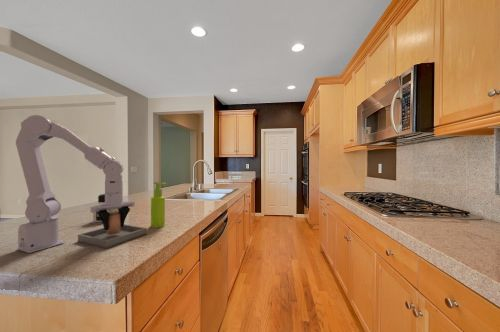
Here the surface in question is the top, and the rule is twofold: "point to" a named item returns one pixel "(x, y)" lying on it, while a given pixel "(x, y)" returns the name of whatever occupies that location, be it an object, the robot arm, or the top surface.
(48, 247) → the robot arm
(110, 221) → the spice jar
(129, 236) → the tray
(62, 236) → the top surface
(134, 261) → the top surface
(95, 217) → the container
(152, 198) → the soap dispenser
